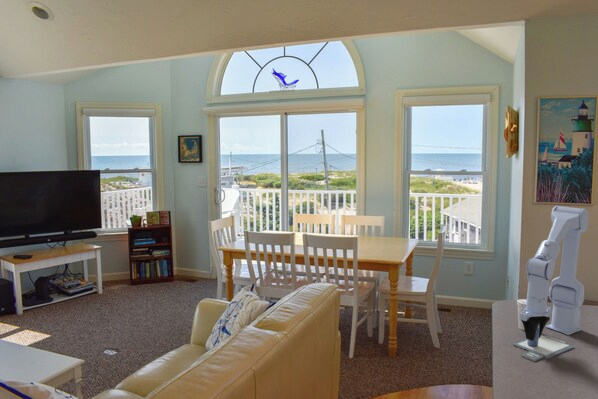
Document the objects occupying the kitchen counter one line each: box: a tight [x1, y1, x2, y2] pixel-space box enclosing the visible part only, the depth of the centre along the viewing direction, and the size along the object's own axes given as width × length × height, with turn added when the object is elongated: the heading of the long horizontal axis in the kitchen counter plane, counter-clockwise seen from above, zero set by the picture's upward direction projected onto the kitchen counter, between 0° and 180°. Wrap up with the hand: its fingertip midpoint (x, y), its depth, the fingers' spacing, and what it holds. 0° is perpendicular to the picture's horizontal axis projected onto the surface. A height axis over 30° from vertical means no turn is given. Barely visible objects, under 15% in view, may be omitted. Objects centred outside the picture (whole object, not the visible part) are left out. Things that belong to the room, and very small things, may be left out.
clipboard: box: [512, 334, 575, 360], centre depth 145 cm, size 16×11×1 cm
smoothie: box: [516, 298, 527, 331], centre depth 159 cm, size 6×6×14 cm
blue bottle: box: [527, 326, 540, 347], centre depth 144 cm, size 3×3×7 cm
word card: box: [520, 351, 544, 362], centre depth 137 cm, size 5×4×1 cm
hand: (532, 338), depth 144 cm, fingers closed on blue bottle, 3 cm apart
